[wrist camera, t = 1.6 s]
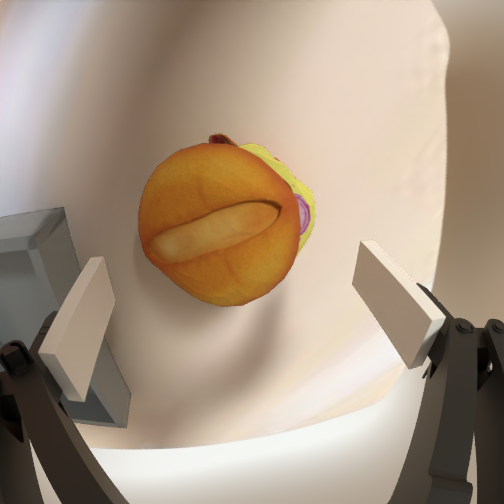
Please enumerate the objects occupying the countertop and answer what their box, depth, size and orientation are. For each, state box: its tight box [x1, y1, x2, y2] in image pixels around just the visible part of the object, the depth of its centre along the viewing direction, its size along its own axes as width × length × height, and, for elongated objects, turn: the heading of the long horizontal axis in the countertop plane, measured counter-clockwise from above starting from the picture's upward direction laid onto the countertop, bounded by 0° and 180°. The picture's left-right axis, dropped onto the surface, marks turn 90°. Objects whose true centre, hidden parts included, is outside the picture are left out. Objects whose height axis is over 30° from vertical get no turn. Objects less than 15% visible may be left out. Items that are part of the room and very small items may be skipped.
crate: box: [0, 207, 131, 428], centre depth 22 cm, size 24×16×5 cm, turn 0°
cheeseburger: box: [138, 134, 315, 307], centre depth 18 cm, size 10×11×10 cm
